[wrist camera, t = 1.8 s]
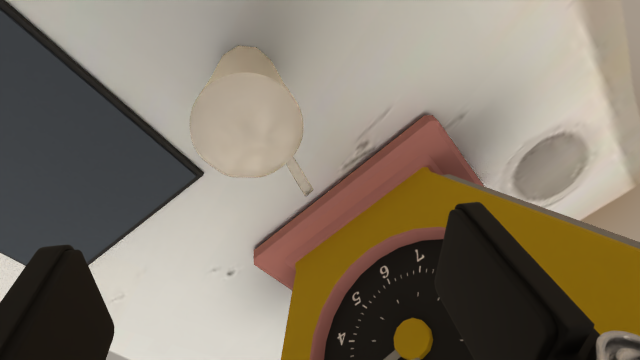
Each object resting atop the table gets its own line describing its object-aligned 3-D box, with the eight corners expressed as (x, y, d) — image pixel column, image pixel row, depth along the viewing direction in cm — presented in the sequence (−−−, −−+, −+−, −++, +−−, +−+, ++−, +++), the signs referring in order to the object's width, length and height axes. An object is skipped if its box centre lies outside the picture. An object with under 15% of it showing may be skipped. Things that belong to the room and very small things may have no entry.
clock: (459, 82, 25) (1037, 444, 7) (511, 168, 29) (935, 517, 11) (226, 268, 30) (201, 763, 12) (302, 316, 34) (368, 723, 16)
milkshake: (262, 131, 24) (272, 229, 16) (189, 77, 22) (156, 159, 13) (310, 78, 23) (349, 155, 15) (239, 14, 20) (237, 61, 12)
